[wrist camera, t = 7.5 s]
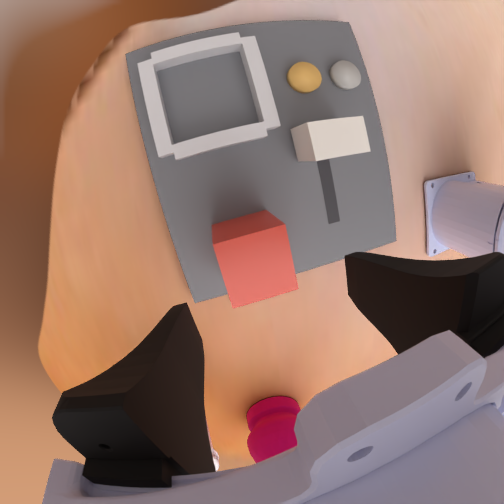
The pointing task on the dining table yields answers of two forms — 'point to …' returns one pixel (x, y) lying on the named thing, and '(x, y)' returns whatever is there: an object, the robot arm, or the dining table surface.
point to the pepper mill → (272, 427)
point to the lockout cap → (254, 257)
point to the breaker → (330, 138)
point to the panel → (260, 141)
